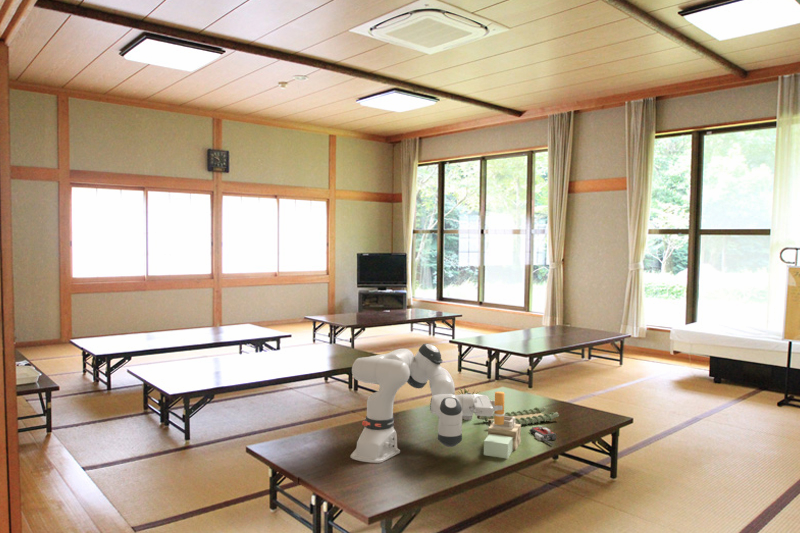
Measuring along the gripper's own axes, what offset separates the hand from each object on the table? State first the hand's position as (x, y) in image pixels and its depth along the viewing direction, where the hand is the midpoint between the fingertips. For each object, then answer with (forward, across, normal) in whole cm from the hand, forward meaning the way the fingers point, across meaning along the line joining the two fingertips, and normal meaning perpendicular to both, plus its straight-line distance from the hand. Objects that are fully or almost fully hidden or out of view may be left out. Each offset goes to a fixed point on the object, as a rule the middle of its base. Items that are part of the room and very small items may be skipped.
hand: (501, 405), depth 237 cm
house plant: (-11, +49, +20) cm, 54 cm away
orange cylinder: (-1, 0, +8) cm, 8 cm away
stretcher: (+16, +45, +21) cm, 52 cm away
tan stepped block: (+3, +11, +20) cm, 23 cm away
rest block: (-1, 0, +20) cm, 20 cm away
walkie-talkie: (+24, +20, +21) cm, 37 cm away
